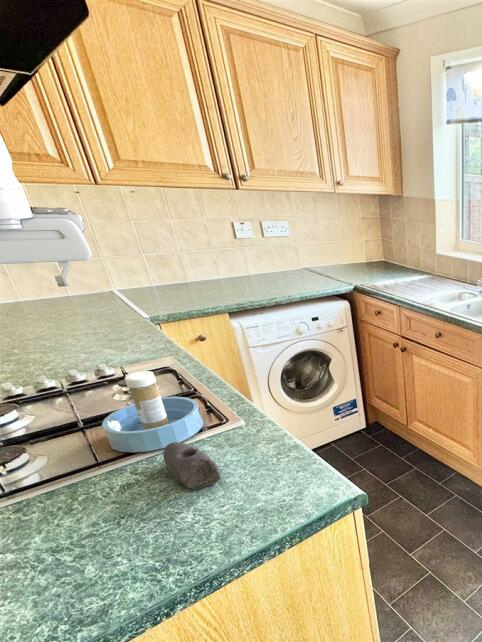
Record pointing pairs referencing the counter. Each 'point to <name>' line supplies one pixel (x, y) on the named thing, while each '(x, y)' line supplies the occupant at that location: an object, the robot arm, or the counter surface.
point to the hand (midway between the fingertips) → (27, 288)
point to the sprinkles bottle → (147, 399)
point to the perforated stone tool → (191, 465)
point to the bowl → (134, 438)
